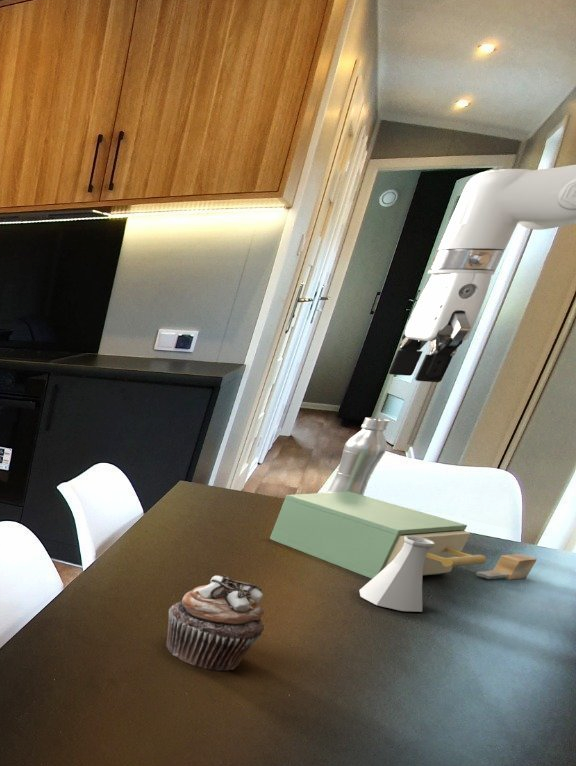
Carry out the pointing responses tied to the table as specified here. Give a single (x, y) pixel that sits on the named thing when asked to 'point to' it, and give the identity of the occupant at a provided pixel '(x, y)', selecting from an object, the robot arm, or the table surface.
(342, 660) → the table surface
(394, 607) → the flask
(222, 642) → the cupcake
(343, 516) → the cabinet
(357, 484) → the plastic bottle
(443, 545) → the drawer
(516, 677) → the table surface
